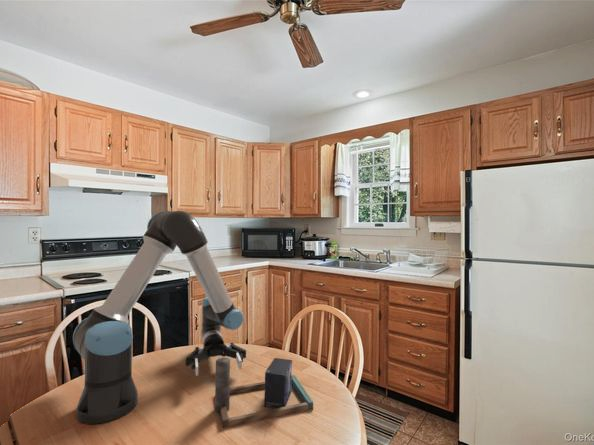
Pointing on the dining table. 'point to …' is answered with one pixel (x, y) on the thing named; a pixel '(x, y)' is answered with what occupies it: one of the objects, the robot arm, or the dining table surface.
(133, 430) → the dining table surface
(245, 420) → the post and rail frame
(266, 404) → the small box
